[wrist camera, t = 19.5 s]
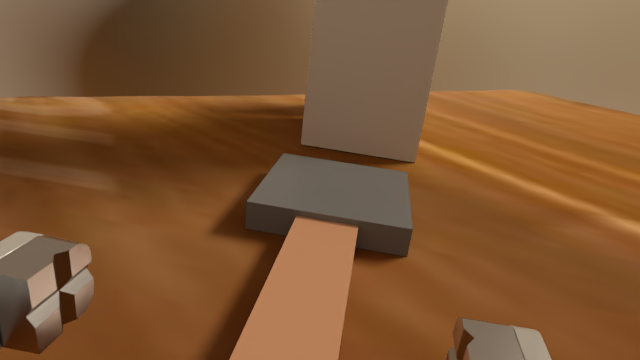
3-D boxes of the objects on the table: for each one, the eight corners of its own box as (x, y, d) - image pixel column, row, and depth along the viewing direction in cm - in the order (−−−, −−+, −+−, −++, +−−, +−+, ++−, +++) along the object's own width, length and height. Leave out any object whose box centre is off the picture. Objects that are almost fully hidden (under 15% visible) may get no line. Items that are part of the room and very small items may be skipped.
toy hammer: (418, 444, 12) (429, 403, 12) (139, 385, 13) (137, 343, 12) (402, 194, 29) (407, 172, 28) (281, 174, 30) (283, 152, 29)
